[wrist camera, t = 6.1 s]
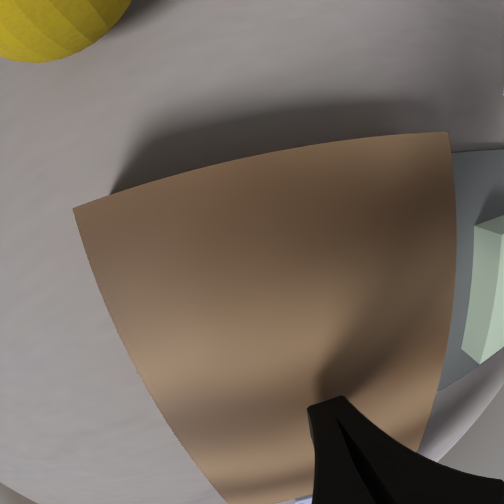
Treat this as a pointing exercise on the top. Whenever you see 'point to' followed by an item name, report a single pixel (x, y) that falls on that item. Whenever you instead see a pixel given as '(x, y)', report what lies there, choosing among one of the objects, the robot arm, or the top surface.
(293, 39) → the top surface
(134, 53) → the top surface
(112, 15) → the lemon
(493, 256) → the tile
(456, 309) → the mat
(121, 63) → the top surface
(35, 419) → the top surface
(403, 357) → the board
